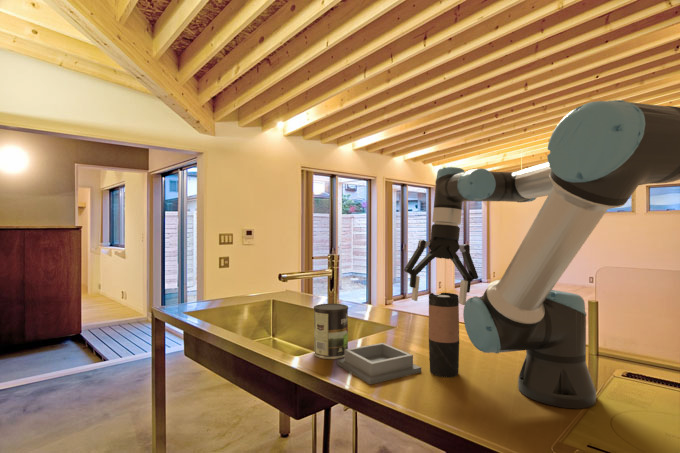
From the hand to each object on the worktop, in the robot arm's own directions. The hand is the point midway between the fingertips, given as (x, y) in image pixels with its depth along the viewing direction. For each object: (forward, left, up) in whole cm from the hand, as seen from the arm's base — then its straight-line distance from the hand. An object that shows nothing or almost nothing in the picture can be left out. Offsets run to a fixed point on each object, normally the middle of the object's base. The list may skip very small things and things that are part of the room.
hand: (438, 302), depth 104 cm
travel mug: (-5, +3, -17) cm, 18 cm away
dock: (+6, +16, -17) cm, 24 cm away
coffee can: (+23, +21, -17) cm, 36 cm away
